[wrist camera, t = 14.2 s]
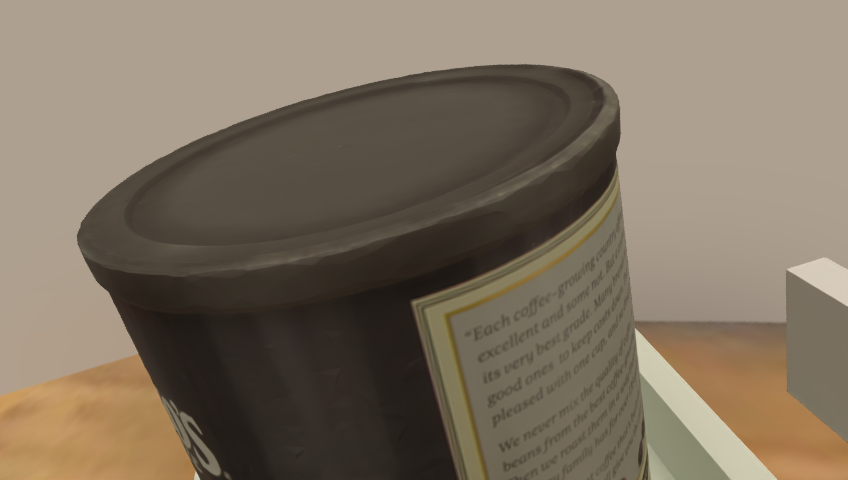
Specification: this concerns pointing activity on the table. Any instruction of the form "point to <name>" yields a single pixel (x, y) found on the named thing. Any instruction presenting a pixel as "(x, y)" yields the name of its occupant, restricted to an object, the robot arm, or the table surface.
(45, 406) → the table surface
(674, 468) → the tray
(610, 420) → the coffee can
